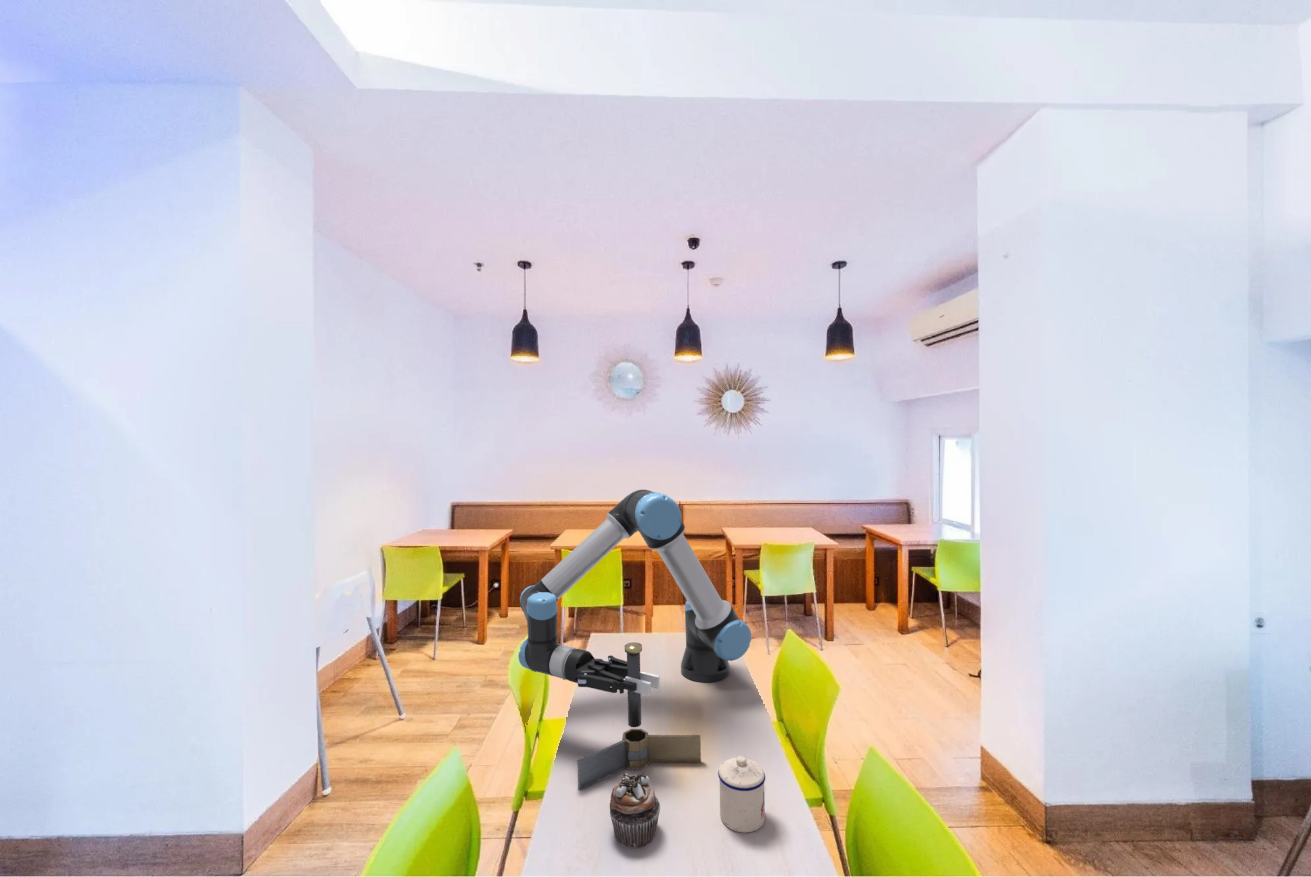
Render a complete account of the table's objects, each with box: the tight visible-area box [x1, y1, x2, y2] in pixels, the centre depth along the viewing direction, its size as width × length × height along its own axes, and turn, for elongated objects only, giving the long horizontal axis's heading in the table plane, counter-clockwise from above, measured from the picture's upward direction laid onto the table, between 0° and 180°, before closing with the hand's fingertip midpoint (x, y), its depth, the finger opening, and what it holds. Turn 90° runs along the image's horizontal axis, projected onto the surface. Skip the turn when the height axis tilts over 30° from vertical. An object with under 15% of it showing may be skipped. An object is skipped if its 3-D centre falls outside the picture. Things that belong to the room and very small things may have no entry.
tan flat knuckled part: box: [621, 728, 702, 770], centre depth 123 cm, size 18×6×6 cm, turn 87°
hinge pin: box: [624, 642, 643, 728], centre depth 123 cm, size 4×4×18 cm
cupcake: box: [609, 771, 661, 849], centre depth 101 cm, size 10×10×10 cm
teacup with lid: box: [717, 755, 766, 833], centre depth 106 cm, size 12×9×12 cm
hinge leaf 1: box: [576, 738, 648, 790], centre depth 119 cm, size 18×6×6 cm, turn 127°
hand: (654, 685), depth 120 cm, fingers closed on hinge pin, 3 cm apart
